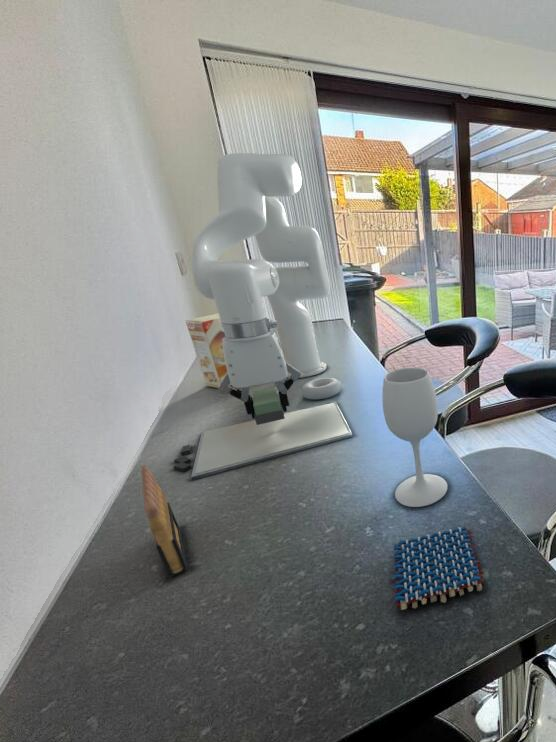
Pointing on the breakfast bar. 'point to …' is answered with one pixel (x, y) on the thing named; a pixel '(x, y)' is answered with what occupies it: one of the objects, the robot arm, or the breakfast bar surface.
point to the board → (268, 439)
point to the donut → (321, 388)
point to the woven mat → (435, 567)
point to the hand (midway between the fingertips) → (269, 412)
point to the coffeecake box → (209, 347)
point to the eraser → (267, 406)
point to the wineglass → (413, 429)
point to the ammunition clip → (163, 525)
